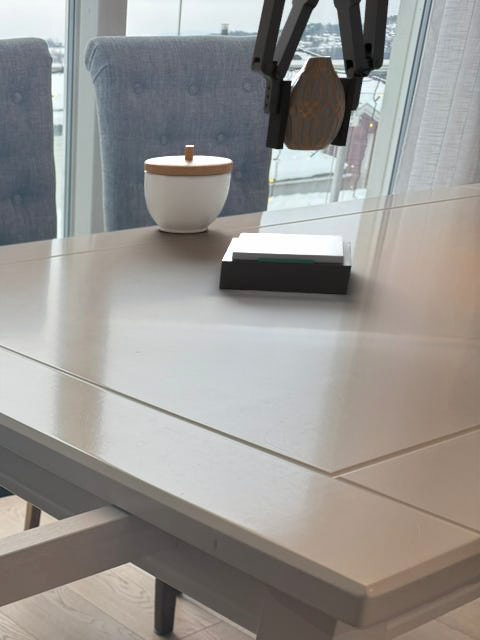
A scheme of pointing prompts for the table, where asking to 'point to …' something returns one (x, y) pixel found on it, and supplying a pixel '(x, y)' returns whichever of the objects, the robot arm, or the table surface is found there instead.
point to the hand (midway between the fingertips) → (305, 146)
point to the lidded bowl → (186, 190)
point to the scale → (287, 263)
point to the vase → (314, 106)
